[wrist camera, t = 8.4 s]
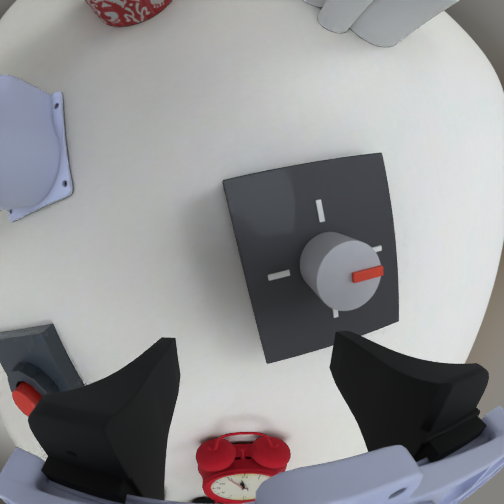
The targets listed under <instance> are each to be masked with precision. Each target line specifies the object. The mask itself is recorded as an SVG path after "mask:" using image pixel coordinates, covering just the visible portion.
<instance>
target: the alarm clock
mask: <svg viewBox="0 0 504 504" xmlns="http://www.w3.org/2000/svg"><path fill="white" fill-rule="evenodd" d="M240 434H254V435H261V436H263V437H260V438H258V439H256V440H255V441H254V442H253V444H232V443H231V442H229V441H228V440H226V439H222V438H224V437H227V436H232V435H240ZM290 455H291V454H290V449H289V447H288V445H287V444H286V443H285V442H284V441H282V440H280V439H278V438H276V437H271V436H267V435H265V434H262V433H258V432H236V433H229V434H225V435H222V436H221V437H219V438H215V439H210V440H208V441H206V442H204V443H203V444H201V445H200V447H199V448H198V450H197V452H196V460H197V463H198V471H199V473H200V474H201V476H202V478H203V484H202V488H203V490H204V493H205V494H206V495H207V496H208V497H209V498H211V499H212V500H215V503H216V504H217V503H218V502H221V503H225V504H240V503H246V502H252V501H255V496H256V491H257V489H258V488H259V486H260V485H261V484H262V482H264V481H265V480H267V479H269V478H271V477H273V476H275V475H277V474H279V473H281V472H285V469H286V467H287V463H288V462H289V459H290Z"/></svg>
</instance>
